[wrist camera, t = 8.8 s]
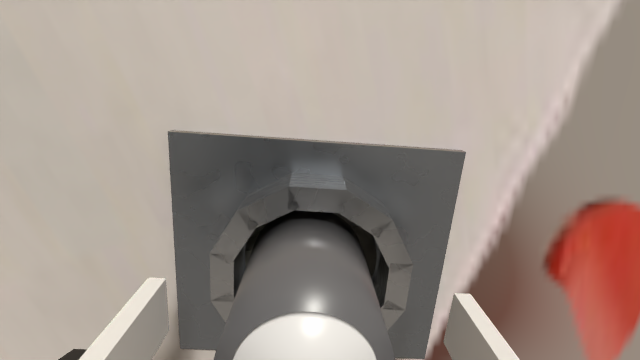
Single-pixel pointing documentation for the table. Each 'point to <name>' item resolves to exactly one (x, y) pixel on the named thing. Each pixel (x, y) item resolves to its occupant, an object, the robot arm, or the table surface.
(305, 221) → the lens barrel
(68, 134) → the table surface
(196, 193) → the barrel mount
